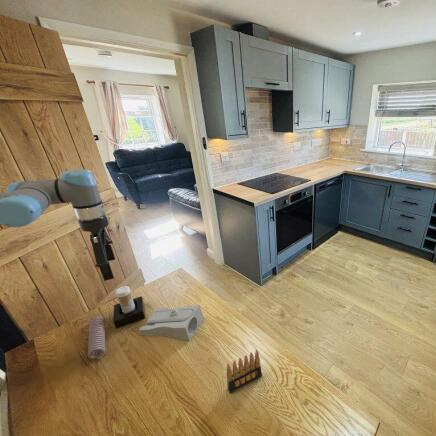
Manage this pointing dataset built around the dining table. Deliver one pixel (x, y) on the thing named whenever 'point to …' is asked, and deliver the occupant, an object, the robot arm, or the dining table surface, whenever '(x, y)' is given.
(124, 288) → the sprinkles bottle
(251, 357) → the ammunition clip
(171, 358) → the dining table surface
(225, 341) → the dining table surface
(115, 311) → the bottle holder
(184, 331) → the wedge sharpener
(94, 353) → the coil
